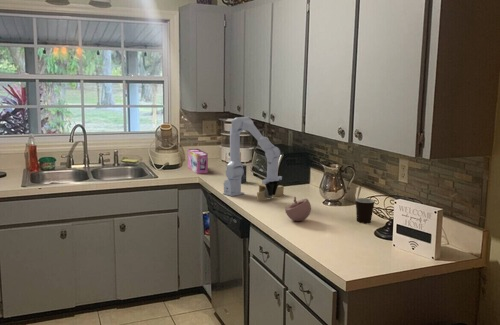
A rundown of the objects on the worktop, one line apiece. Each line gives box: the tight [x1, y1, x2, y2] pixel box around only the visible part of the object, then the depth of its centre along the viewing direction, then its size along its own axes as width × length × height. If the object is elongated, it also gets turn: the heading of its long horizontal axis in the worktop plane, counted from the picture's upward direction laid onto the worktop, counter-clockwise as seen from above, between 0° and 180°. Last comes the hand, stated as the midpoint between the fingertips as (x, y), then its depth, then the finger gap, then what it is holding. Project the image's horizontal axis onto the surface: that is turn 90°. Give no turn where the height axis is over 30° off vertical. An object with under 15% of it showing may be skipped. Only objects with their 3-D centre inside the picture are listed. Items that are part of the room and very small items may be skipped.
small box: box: [241, 164, 247, 184], centre depth 308 cm, size 11×6×10 cm, turn 62°
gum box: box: [187, 148, 209, 175], centre depth 340 cm, size 24×8×14 cm, turn 23°
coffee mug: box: [355, 197, 375, 224], centre depth 230 cm, size 12×9×10 cm
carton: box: [258, 183, 285, 198], centre depth 278 cm, size 8×12×5 cm, turn 44°
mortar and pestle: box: [284, 196, 312, 222], centre depth 229 cm, size 12×12×12 cm
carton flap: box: [256, 187, 275, 201], centre depth 264 cm, size 12×5×7 cm, turn 131°
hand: (271, 195), depth 263 cm, fingers closed
